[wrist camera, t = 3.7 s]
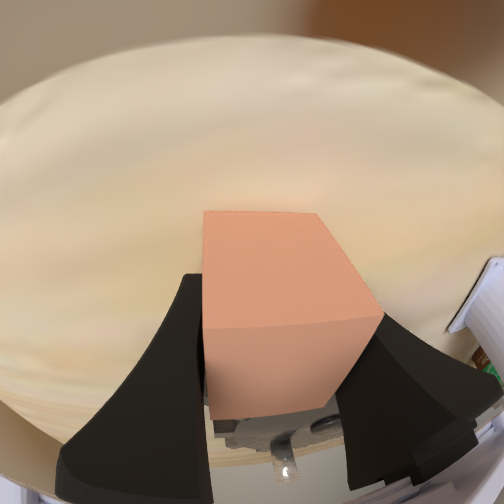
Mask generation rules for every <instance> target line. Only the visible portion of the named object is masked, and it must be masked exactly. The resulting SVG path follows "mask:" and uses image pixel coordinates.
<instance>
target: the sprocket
mask: <svg viewBox="0 0 504 504" xmlns="http://www.w3.org/2000/svg"><path fill="white" fill-rule="evenodd" d="M213 424H214V435H215V438H225V444H226V447H228V448H231V449H236V448H241V447H247V448H252V449H256V452H268V451H271V456H272V461H273V466H274V471H275V476H276V481H277V484H284V483H289V482H294V481H297V480H299V475H298V471H297V467H296V463H295V458H294V454H293V450H292V448H295V449H297V448H302V447H307V446H308V445H311V444H315V443H319V442H322V441H326V440H329V439H332V438H335V437H336V438H338V437H341V436H343V430H342V424H341V419H340V414H339V409H338V405H337V401H336V396H335V393H334V394H333V396H332V397H331V398H330V400H329V401H328V402H327V403H326V405H325V406H324V407H322V408H316V409H311V410H306V411H300V412H294V413H287V414H280V415H272V416H263V417H253V418H241V419H224V420H213Z"/></svg>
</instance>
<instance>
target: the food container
mask: <svg viewBox="0 0 504 504" xmlns="http://www.w3.org/2000/svg"><path fill="white" fill-rule="evenodd" d="M472 359H473V361H474V363H475V365H476V367H477V369H479V370H481V371H484V372H487V373H490V374H493V375H495V377H496V378H497V379H498V381H499V383H500V385H501V387H502V388H503V390H504V383H503V381H502V380H501V378H500V376H499V374H498V373H497V371H496V369H495V368H494V366H493V364H492V363H491V361H490V359H489V358H488V356H487V355H486V353H485V352H484V350H483V349H482V347H481V346H479V348H478V349H477V350H476V352H475V353H474V355H473V357H472ZM503 403H504V398H503V397H501V398H500V399H499V400H498V401H497V402H496V403H495V404H493V405H492V406H491V407H494V408H495V409H496V408H498V407H499V406H500V405H501V404H503Z"/></svg>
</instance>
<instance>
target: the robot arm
mask: <svg viewBox="0 0 504 504" xmlns="http://www.w3.org/2000/svg"><path fill="white" fill-rule="evenodd" d="M384 314H385V315H384V316H383V318H382V320H381V322H380V324H379V325H378V327H377V329H376V331H375V332H374V334H373V336H372V337H371V339H370V341H369V342H368V344H367V345H366V347H365V349H364V350H363V352H362V353H361V355H360V357H359V358H358V360H357V361H356V363H355V364H354V366H353V367H352V369H351V370H350V372H349V373H348V375H347V376H346V377H345V379H344V380H343V382H342V383H341V385H340V386H339V387H338V389H337V390H336V391H335V396H336V401H337V405H338V409H339V414H340V419H341V424H342V430H343V435H344V443H345V450H346V460H347V475H348V476H347V477H348V484H349V488H350V490H351V491H352V490H356V489H359V488H362V487H365V486H368V485H371V484H374V483H377V482H379V481H382V480H384V482H385V485H386V486H385V487H382V488H380V489H378V490H376V491H373V492H371V493H368V494H366V495H363V496H361V497H358V498H355V499H352V500H350V501H347V502H344V503H341V504H493V503H494V501H495V500H496V498H497V496H498V494H499V493H500V491H501V490H502V488H503V486H504V403H503V407H502V410H501V411H500V412H499V413H498V414H497V415H495V416H494V417H493V418H491V419H489V420H488V421H487V422H485V423H484V424H483V425H481V426H480V427H479V428H477V429H476V430H475V431H474V430H473V429H474V428H476V427H477V423H476V420H475V419H476V418H477V417H478V416H480V415H481V414H482V413H483V412H485V411H486V410H487V409H488V408H490V407H491V406H492V405H493V404H495V403H496V402H497V401H498V400H499V399H500V398H501V397H503V398H504V390H503V388H502V387H501V385H500V383H499V381H498V379H497V378H496V377H495V375H493V374H490V373H487V372H484V371H481V370H479V369H476V368H473V367H471V366H468V365H466V364H464V363H462V362H460V361H457V360H455V359H453V358H451V357H450V356H448V355H446V354H444V353H442V352H440V351H439V350H437V349H435V348H433V347H432V346H430V345H429V344H427V343H425V342H424V341H422V340H421V339H419V338H418V337H416V336H415V335H413V334H412V333H411V332H409V331H408V330H406V329H405V328H404V327H402V326H401V325H400V324H398V323H397V322H396V321H395V320H393V319H392V318H391V317H389V316H388V315H387V314H386V313H385V312H384ZM467 327H468V328H469V329H470V331H471V332H472V334H473V335H474V337H475V338H476V340H477V341H478V343H479V344H480V346H481V347H482V349H483V350H484V352H485V353H486V355H487V356H488V358H489V359H490V361H491V363H492V364H493V366H494V368H495V369H496V371H497V373H498V374H499V376H500V378H501V380H502V381H503V383H504V257H493V258H491V259H490V260H489V262H488V264H487V266H486V268H485V269H484V271H483V273H482V275H481V277H480V279H479V280H478V282H477V284H476V286H475V287H474V289H473V291H472V293H471V294H470V296H469V297H468V299H467V301H466V302H465V304H464V305H463V307H462V309H461V310H460V312H459V313H458V315H457V316H456V318H455V319H454V321H453V322H452V323H451V325H450V326H449V328H448V330H447V331H448V332H449V333H453V332H456V331H459V330H462V329H464V328H467ZM204 380H205V355H204V341H203V314H202V274H185V275H184V276H183V278H182V281H181V284H180V287H179V289H178V292H177V294H176V296H175V298H174V301H173V303H172V305H171V307H170V309H169V311H168V313H167V315H166V317H165V318H164V320H163V322H162V324H161V326H160V327H159V329H158V331H157V333H156V334H155V336H154V338H153V339H152V341H151V343H150V344H149V346H148V348H147V349H146V351H145V352H144V354H143V355H142V357H141V358H140V360H139V361H138V363H137V364H136V365H135V367H134V368H133V370H132V371H131V372H130V374H129V375H128V376H127V378H126V379H125V380H124V382H123V383H122V384H121V386H120V387H119V388H118V389H117V390H116V392H115V393H114V394H113V395H112V397H111V398H110V399H109V400H108V401H107V402H106V403H105V404H104V405H103V407H102V408H101V409H100V410H99V411H98V412H97V413H96V414H95V415H94V417H93V418H92V419H91V420H90V421H89V422H88V423H87V424H86V425H85V426H84V427H83V428H82V429H81V430H79V431H78V432H77V433H76V434H75V435H74V436H73V437H72V438H71V439H70V440H69V441H68V442H67V443H66V444H64V445H63V446H62V447H61V449H60V453H59V458H58V461H57V466H56V479H55V494H56V496H54V495H51V494H49V493H47V492H44V491H42V490H39V489H37V488H35V487H32V486H29V485H27V484H23V483H20V482H18V481H15V480H13V479H11V478H9V477H8V476H5V475H3V474H1V473H0V504H213V503H214V501H213V494H212V487H211V479H210V471H209V462H208V452H207V442H206V430H205V417H204ZM418 488H419V490H418V491H417V492H414V493H412V494H409V493H410V492H412V491H414V490H416V489H418ZM407 494H409V495H407ZM405 495H406V496H405ZM63 500H64V501H63ZM65 501H66V502H65ZM68 502H69V503H68Z"/></svg>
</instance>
